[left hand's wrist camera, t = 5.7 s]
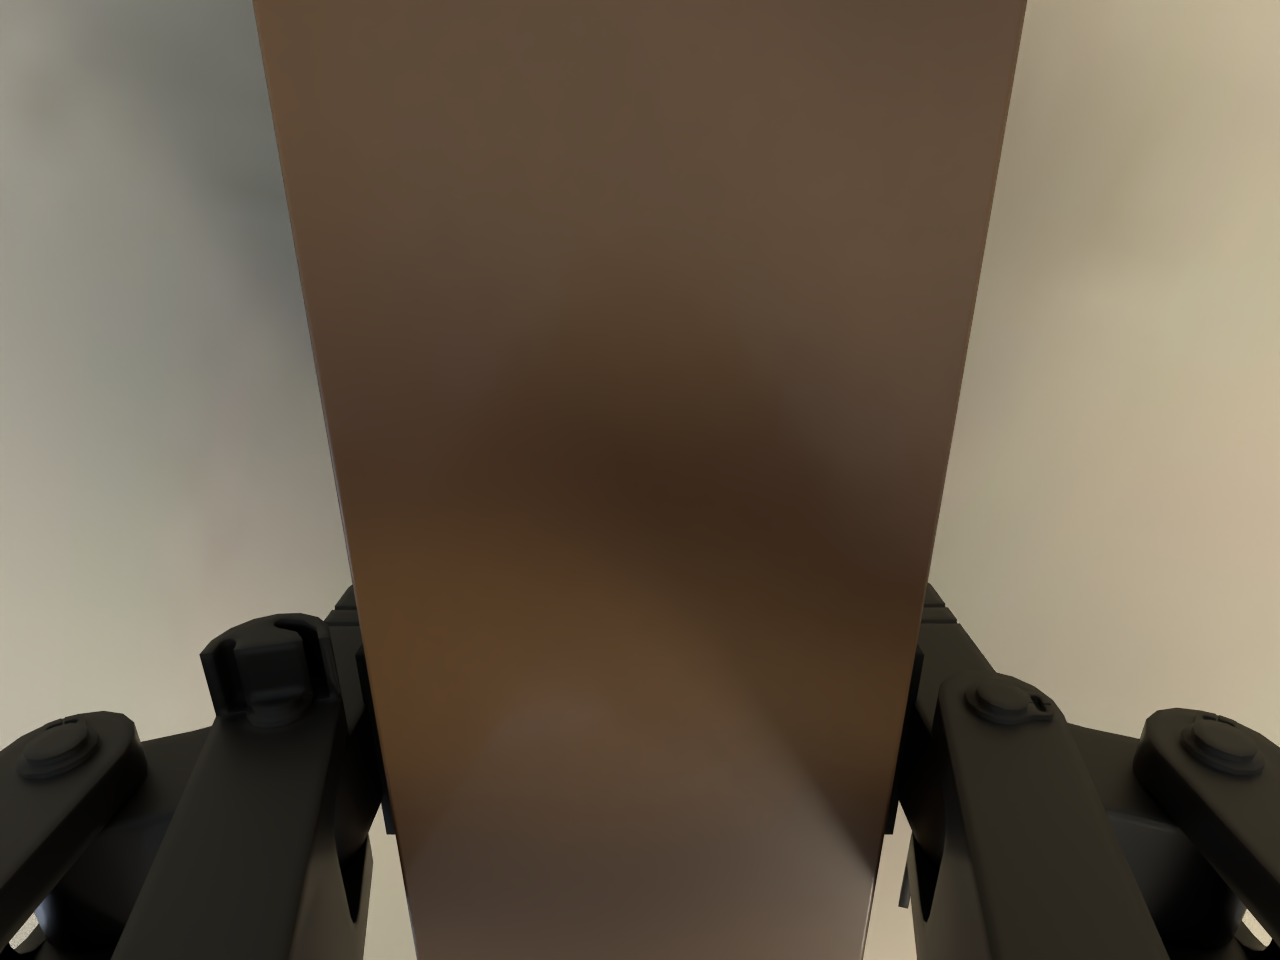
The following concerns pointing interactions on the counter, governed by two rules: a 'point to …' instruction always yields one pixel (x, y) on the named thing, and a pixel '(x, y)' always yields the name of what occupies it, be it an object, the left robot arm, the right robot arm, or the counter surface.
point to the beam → (639, 436)
